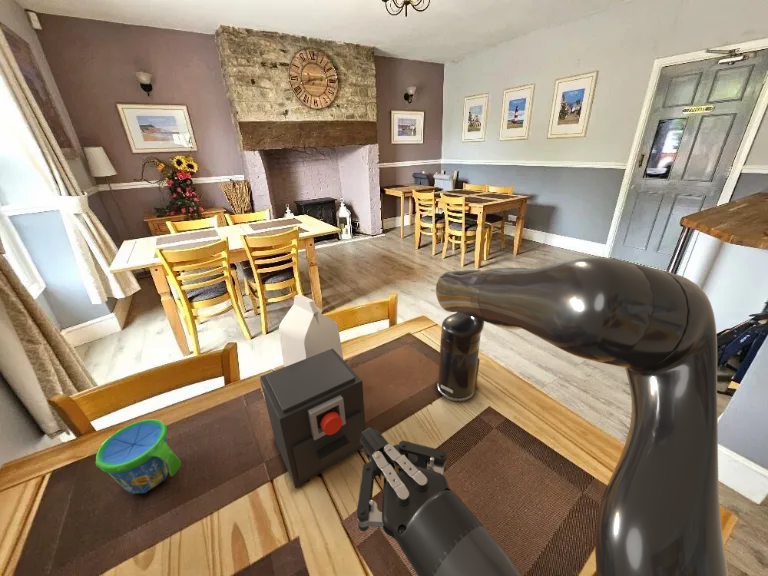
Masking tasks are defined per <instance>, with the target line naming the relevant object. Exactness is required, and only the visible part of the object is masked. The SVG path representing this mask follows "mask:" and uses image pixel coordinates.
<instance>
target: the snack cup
mask: <svg viewBox="0 0 768 576" xmlns="http://www.w3.org/2000/svg"><path fill="white" fill-rule="evenodd" d="M168 443H169V442H168V426H167V424H165V423H164V422H163V421H162V420H159V419H153V418H152V419H151V418H149V419H143V420H138V421H135V422H132V423H131V424H128V425H125V426H124V427H122V428H121V429H119V430H118V431H116V432H115V433H113V434H112V435H110V436H109V437H108V438H106V439H105V440H104V441H103V442H102V443H101V444H100V446H99V448H98V450H97V452H96V454H95V455H96V456H95V462H94V463H95V465H96V467H97V468H99V469H100V470H101V471H103V472H104V473H107V474H108V475H109V476H110V477H111V478H112V479H113V480H114V481H115V482H116V483H117V484H119V485H120V486H121V487H122V488H123V489H124V490H125V491H126V492H128V494H132V495H136V494H146V493H148V491H151V490H153V489H154V488H156V487H157V486H159V485H160V484H161V483H162V482H164V481H165V480H166V479H167V477H168V475H169V477H171V478H172V477H173V476H175V475H176V474H177V473H178V471H179V470H180V468H181V466H182V460H181V459H180V458H179V457H178V456H177V455H176V453H175V452H174V451H173V450H172V448H171V447H170V446H169V444H168Z"/></svg>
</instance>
